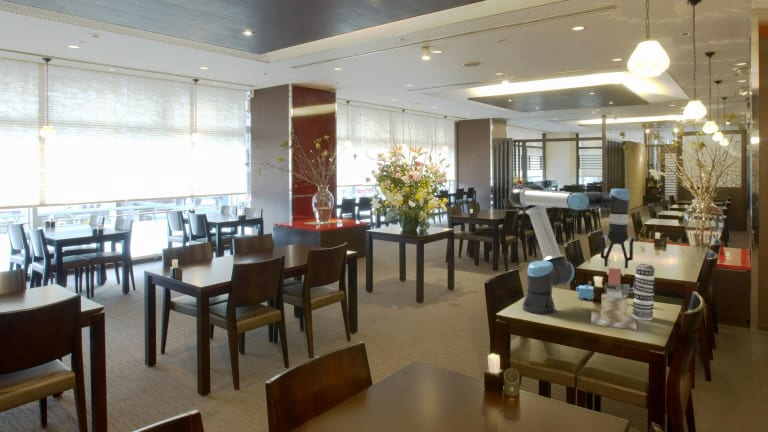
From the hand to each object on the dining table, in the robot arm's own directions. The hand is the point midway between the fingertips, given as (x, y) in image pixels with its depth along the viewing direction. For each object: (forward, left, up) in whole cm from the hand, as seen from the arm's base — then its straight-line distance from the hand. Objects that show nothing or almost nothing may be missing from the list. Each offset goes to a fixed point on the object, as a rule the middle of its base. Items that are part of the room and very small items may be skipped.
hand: (615, 274), depth 224 cm
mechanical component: (+7, +36, -22) cm, 43 cm away
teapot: (-11, +38, -22) cm, 45 cm away
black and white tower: (+13, +13, -22) cm, 29 cm away
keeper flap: (0, +6, -3) cm, 7 cm away
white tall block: (0, 0, -19) cm, 19 cm away
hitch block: (0, 0, -22) cm, 22 cm away
